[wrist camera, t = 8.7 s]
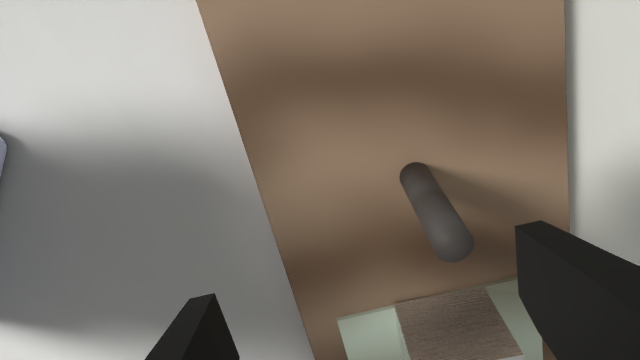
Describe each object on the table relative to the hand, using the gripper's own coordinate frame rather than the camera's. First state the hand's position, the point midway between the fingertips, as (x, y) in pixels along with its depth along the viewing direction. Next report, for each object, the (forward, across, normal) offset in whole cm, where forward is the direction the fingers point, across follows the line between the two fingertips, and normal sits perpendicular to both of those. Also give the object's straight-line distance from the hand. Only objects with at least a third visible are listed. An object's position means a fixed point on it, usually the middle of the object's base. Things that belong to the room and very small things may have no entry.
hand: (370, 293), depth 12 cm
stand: (+9, -3, +5) cm, 11 cm away
